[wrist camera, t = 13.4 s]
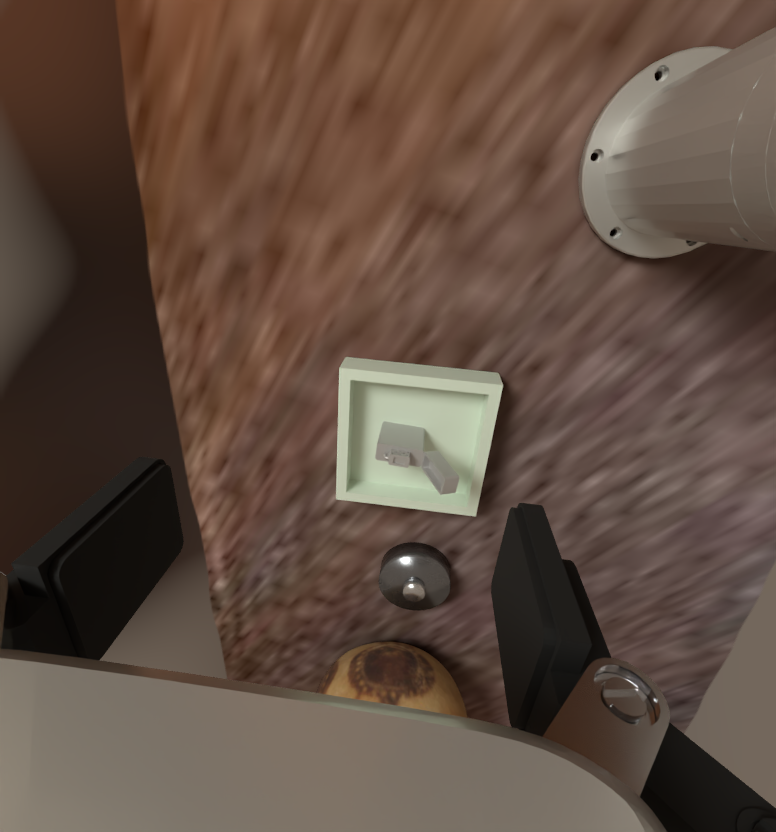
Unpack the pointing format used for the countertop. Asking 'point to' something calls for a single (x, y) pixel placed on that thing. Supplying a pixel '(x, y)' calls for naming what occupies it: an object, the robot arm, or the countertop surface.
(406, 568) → the pot lid
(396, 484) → the tray
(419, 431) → the lighter
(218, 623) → the countertop surface
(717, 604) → the countertop surface
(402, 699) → the clay pot
